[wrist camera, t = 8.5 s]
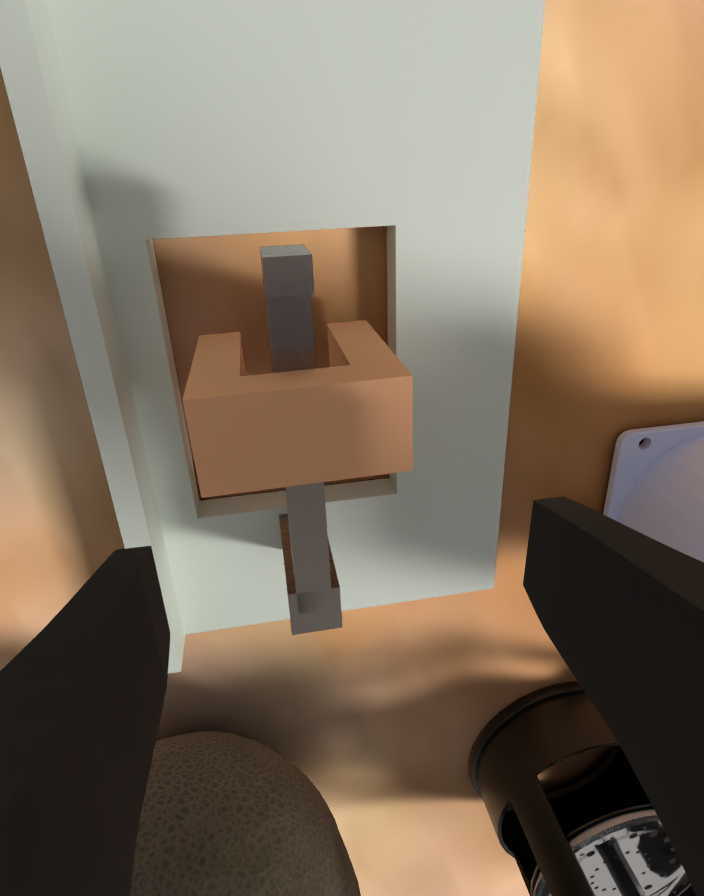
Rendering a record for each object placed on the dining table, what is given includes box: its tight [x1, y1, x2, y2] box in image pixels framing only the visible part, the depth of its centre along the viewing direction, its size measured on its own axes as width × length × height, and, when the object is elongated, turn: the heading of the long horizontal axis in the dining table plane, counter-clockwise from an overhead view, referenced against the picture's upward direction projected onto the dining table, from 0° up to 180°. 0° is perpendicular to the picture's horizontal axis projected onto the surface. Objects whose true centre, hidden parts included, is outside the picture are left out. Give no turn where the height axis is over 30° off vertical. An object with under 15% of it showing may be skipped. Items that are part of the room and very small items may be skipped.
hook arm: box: [260, 244, 342, 635], centre depth 17 cm, size 2×11×6 cm, turn 2°
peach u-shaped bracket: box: [183, 320, 413, 498], centre depth 15 cm, size 5×2×5 cm, turn 93°
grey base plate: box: [0, 0, 545, 674], centre depth 17 cm, size 13×22×3 cm, turn 2°
